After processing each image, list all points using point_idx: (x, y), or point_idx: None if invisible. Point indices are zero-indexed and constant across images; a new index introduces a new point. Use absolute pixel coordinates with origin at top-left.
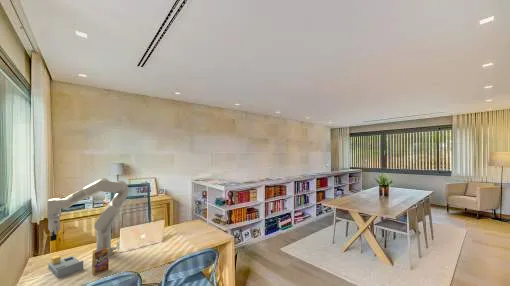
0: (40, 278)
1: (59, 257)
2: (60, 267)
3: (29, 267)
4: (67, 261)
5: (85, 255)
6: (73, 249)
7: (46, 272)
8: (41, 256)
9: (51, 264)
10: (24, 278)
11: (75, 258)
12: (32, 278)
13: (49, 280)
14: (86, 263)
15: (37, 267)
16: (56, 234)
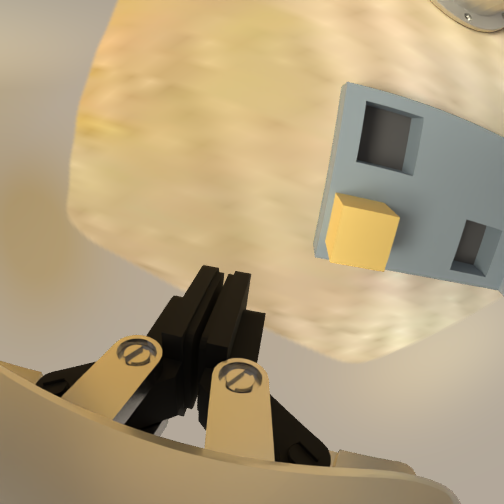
0: (412, 320)
1: (395, 223)
2: (457, 243)
3: None
4: (424, 170)
5: (349, 5)
6: (128, 15)
7: (375, 278)
8: (71, 192)
9: None
10: (326, 355)
11: (428, 109)
12: (369, 339)
13: (473, 306)
14: (489, 95)
15: None
16: (264, 372)
